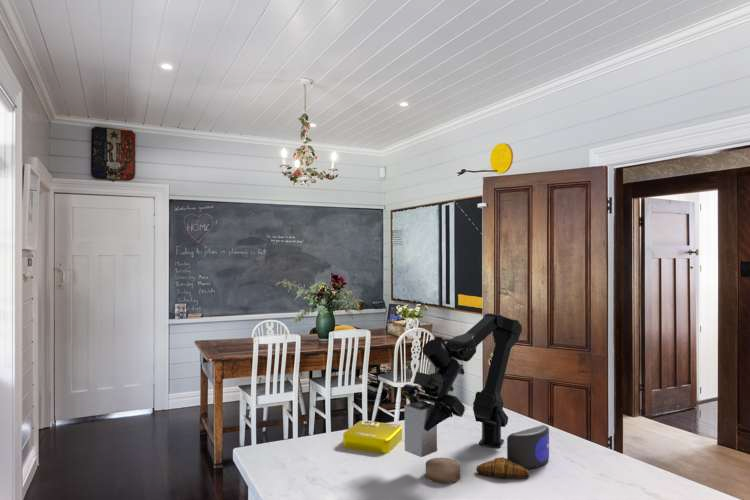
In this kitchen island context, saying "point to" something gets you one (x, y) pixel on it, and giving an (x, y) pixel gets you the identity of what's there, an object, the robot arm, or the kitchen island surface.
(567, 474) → the kitchen island surface
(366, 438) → the element tile
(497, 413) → the robot arm
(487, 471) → the croissant
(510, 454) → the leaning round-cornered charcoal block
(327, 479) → the kitchen island surface
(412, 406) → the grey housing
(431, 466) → the walnut stand
